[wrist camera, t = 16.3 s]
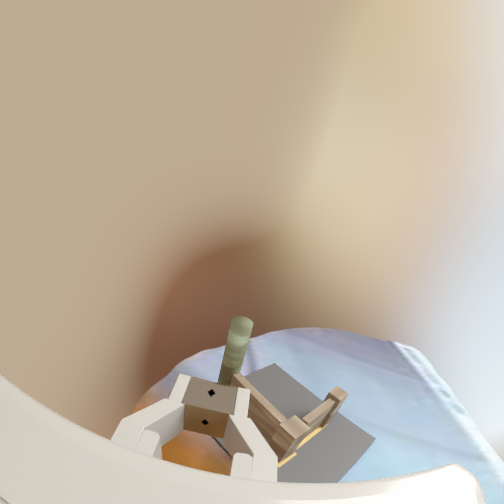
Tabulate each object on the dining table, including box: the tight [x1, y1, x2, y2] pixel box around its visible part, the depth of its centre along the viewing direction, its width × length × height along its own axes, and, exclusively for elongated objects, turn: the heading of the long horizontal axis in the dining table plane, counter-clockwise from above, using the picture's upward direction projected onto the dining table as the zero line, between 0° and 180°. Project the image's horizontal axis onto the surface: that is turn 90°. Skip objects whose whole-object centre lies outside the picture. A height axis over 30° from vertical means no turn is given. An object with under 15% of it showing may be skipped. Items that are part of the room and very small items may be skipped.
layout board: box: [213, 363, 375, 483], centre depth 37 cm, size 26×21×1 cm
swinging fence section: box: [218, 316, 311, 463], centre depth 35 cm, size 3×17×15 cm, turn 39°
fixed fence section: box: [302, 386, 348, 438], centre depth 36 cm, size 2×9×8 cm, turn 131°
